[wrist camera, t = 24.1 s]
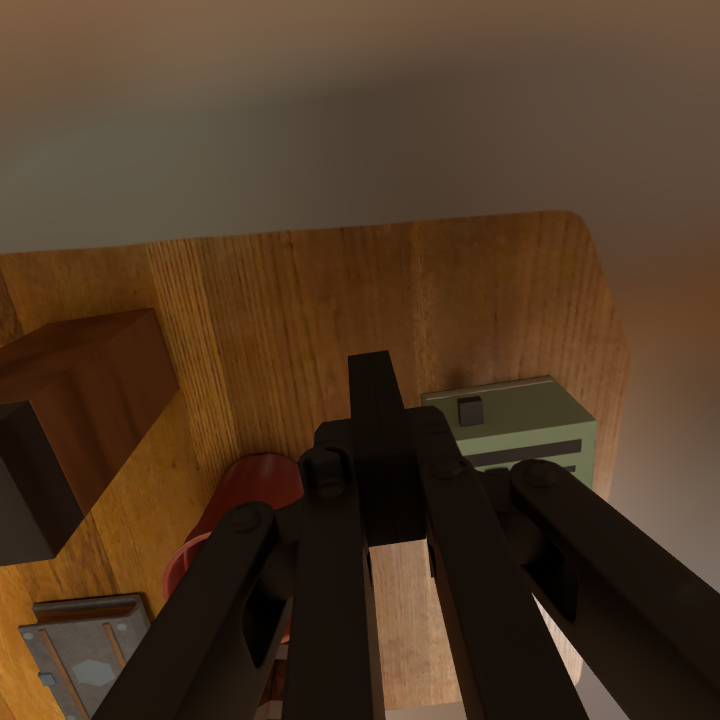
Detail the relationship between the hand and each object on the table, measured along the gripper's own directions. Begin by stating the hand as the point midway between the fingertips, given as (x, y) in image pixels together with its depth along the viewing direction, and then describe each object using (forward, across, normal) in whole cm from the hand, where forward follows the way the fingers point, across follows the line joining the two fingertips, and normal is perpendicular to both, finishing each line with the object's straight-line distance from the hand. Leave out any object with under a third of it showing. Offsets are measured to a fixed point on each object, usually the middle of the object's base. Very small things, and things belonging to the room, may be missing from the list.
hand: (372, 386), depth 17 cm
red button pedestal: (+34, -28, -8) cm, 45 cm away
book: (+35, -46, -54) cm, 79 cm away
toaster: (+34, +14, -23) cm, 44 cm away
